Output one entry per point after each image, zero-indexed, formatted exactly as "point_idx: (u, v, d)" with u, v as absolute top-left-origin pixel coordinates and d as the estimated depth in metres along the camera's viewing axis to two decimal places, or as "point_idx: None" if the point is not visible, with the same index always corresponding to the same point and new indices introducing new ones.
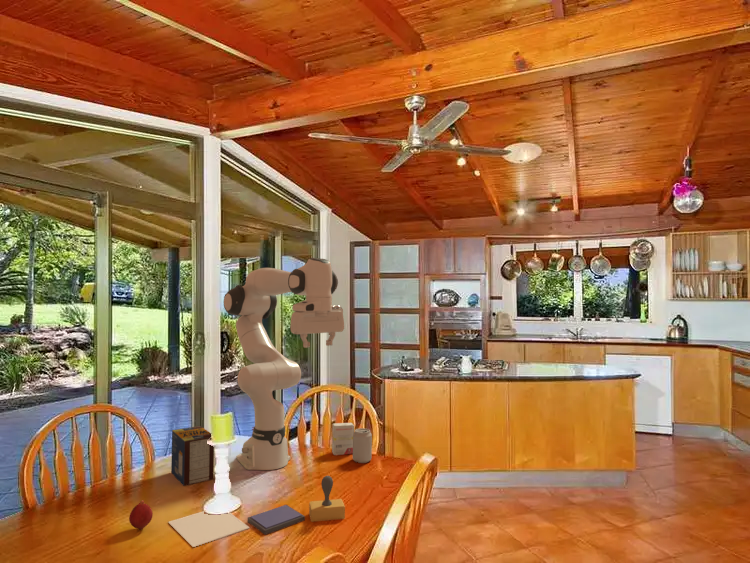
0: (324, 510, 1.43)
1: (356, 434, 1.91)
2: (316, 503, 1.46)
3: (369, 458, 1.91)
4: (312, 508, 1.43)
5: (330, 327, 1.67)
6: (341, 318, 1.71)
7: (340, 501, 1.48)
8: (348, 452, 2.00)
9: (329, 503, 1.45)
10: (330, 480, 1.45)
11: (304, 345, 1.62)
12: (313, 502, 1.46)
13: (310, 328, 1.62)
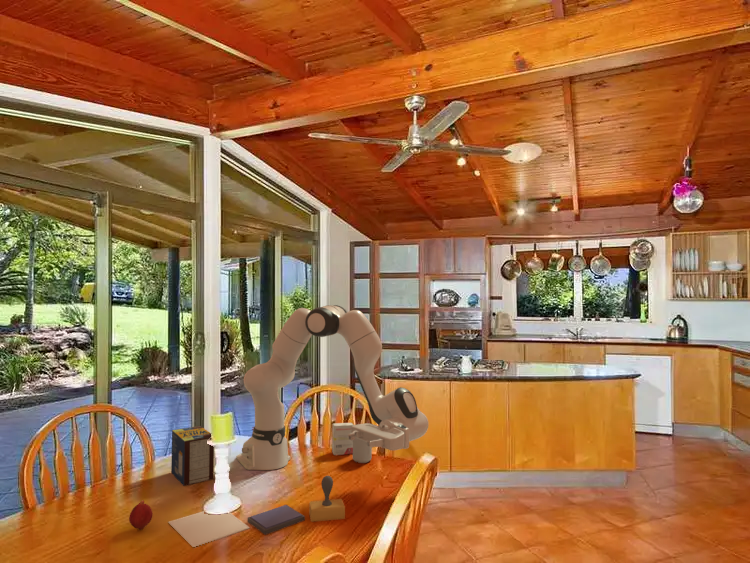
0: (324, 510, 1.43)
1: None
2: (316, 503, 1.46)
3: (369, 458, 1.91)
4: (312, 508, 1.43)
5: None
6: None
7: (340, 501, 1.48)
8: (348, 452, 2.00)
9: (329, 503, 1.45)
10: (330, 480, 1.45)
11: (372, 444, 1.51)
12: (313, 502, 1.46)
13: None
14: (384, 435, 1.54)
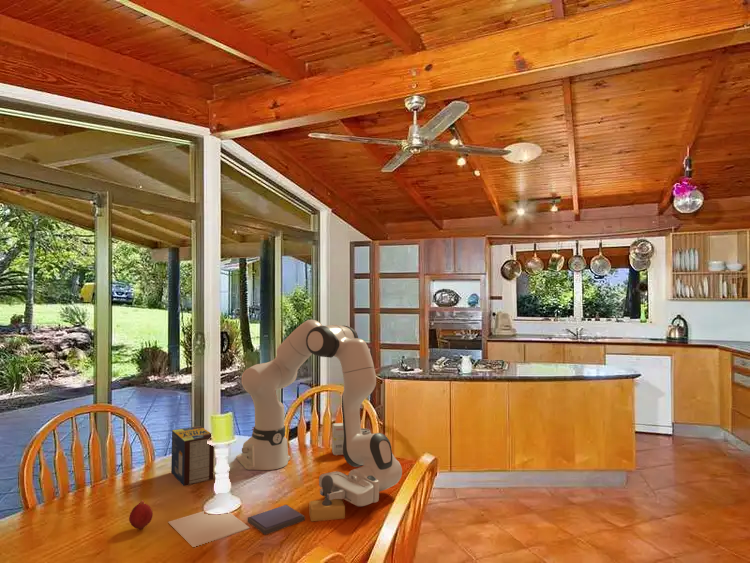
0: (324, 509, 1.43)
1: None
2: (316, 502, 1.46)
3: None
4: (312, 508, 1.43)
5: None
6: None
7: (340, 501, 1.47)
8: None
9: (329, 503, 1.45)
10: (330, 480, 1.45)
11: (331, 496, 1.44)
12: (313, 502, 1.46)
13: None
14: (352, 489, 1.45)
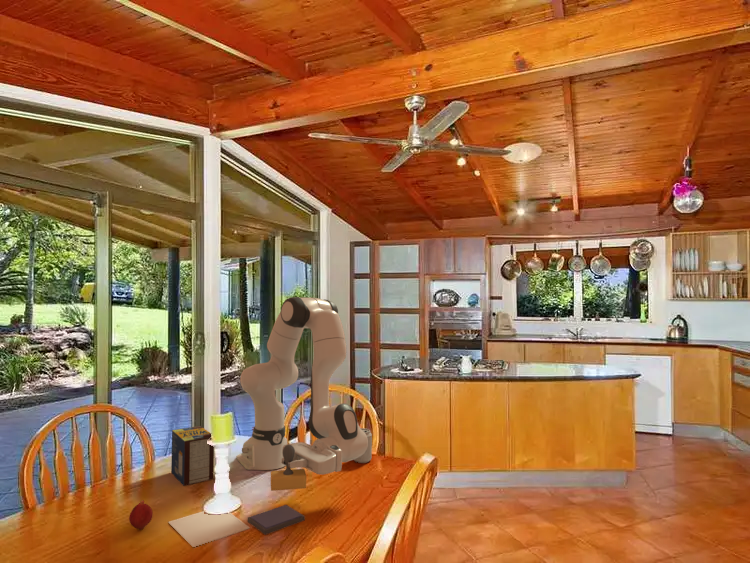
0: (285, 478, 1.40)
1: None
2: (277, 472, 1.44)
3: (369, 458, 1.91)
4: (272, 477, 1.40)
5: None
6: None
7: (302, 471, 1.45)
8: None
9: (290, 472, 1.42)
10: (291, 449, 1.42)
11: (292, 464, 1.41)
12: (275, 472, 1.44)
13: None
14: (313, 457, 1.43)
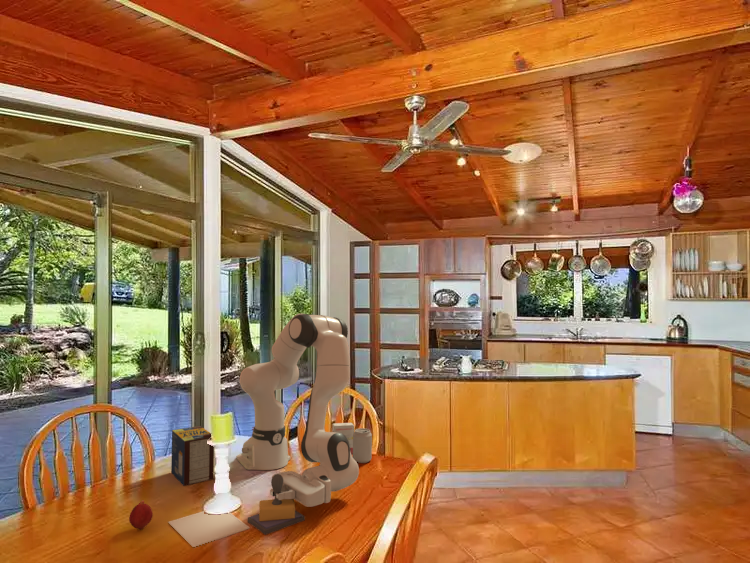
0: (273, 509, 1.39)
1: (356, 434, 1.91)
2: (265, 502, 1.42)
3: (369, 458, 1.91)
4: (261, 507, 1.39)
5: None
6: None
7: (291, 500, 1.44)
8: None
9: (279, 502, 1.41)
10: (280, 478, 1.41)
11: (280, 496, 1.40)
12: (263, 502, 1.43)
13: None
14: (302, 489, 1.41)
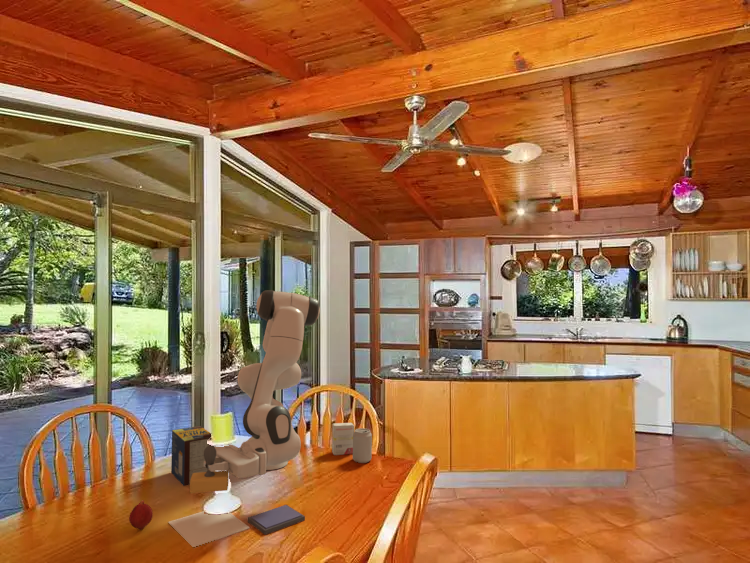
0: (204, 481, 1.36)
1: (356, 434, 1.91)
2: (198, 474, 1.39)
3: (369, 458, 1.91)
4: (191, 479, 1.36)
5: None
6: None
7: (225, 472, 1.41)
8: (348, 452, 2.00)
9: (211, 474, 1.38)
10: (212, 450, 1.38)
11: (212, 467, 1.37)
12: (196, 474, 1.39)
13: None
14: (235, 460, 1.38)
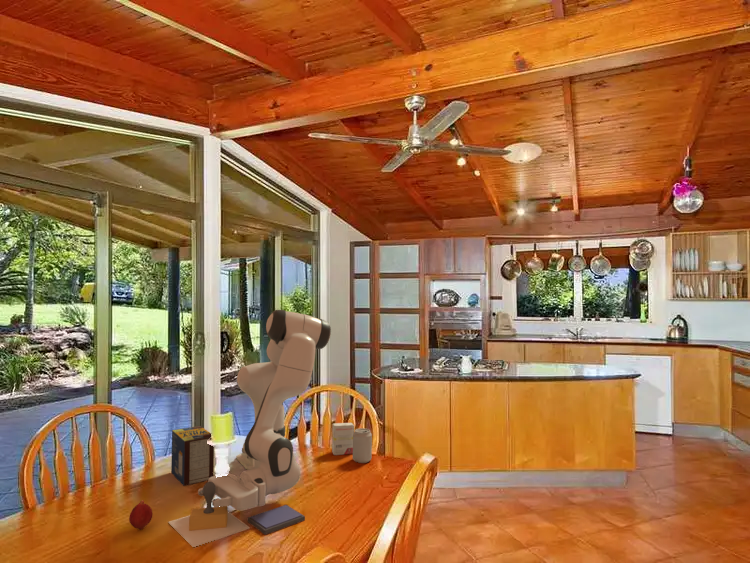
0: (203, 518, 1.36)
1: (356, 434, 1.91)
2: (197, 510, 1.39)
3: (369, 458, 1.91)
4: (191, 516, 1.36)
5: None
6: None
7: (224, 508, 1.41)
8: (348, 452, 2.00)
9: (210, 510, 1.38)
10: (211, 486, 1.38)
11: (216, 503, 1.35)
12: (195, 510, 1.39)
13: None
14: (234, 492, 1.38)
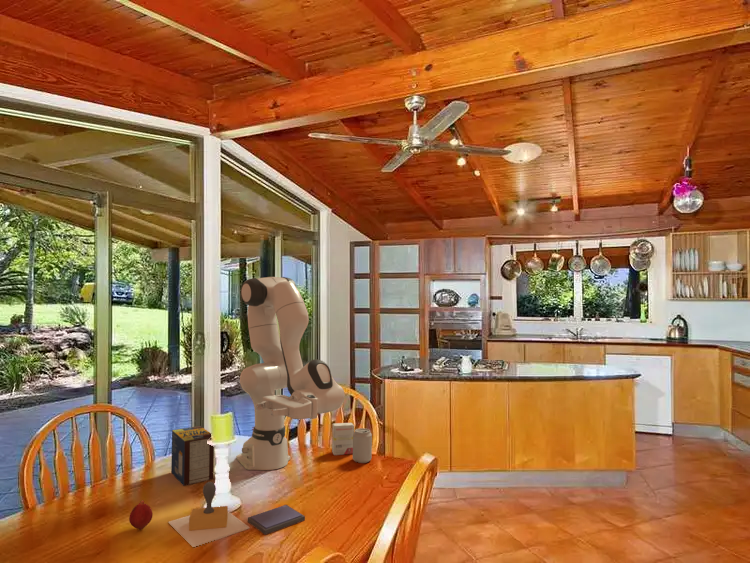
0: (203, 518, 1.36)
1: (356, 434, 1.91)
2: (197, 510, 1.39)
3: (369, 458, 1.91)
4: (191, 516, 1.36)
5: None
6: None
7: (224, 508, 1.41)
8: (348, 452, 2.00)
9: (210, 510, 1.38)
10: (211, 486, 1.38)
11: (275, 412, 1.47)
12: (195, 510, 1.39)
13: None
14: (290, 404, 1.51)
